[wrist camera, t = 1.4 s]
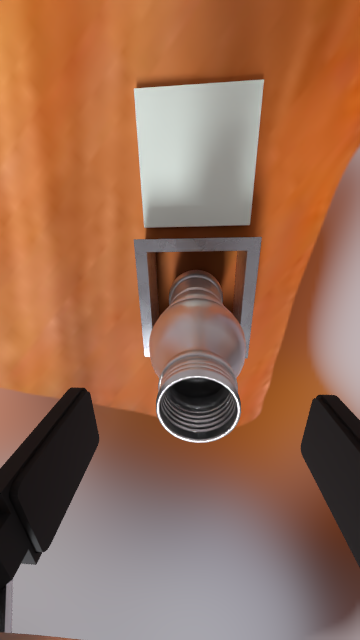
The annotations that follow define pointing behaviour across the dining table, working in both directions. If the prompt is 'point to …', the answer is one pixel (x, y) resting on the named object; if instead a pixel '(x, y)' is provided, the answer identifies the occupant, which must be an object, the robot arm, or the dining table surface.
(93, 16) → the dining table surface
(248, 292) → the steel collar
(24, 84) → the dining table surface
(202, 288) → the plastic bottle
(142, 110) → the mat
